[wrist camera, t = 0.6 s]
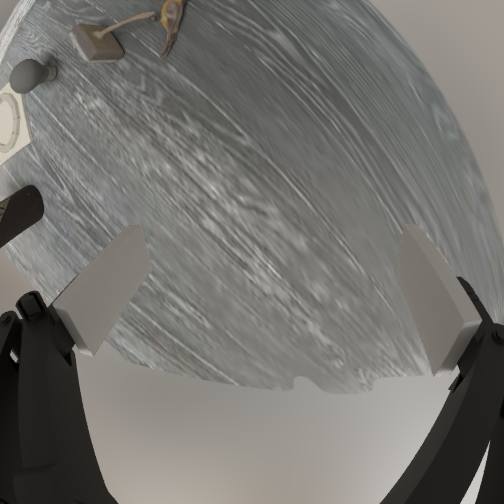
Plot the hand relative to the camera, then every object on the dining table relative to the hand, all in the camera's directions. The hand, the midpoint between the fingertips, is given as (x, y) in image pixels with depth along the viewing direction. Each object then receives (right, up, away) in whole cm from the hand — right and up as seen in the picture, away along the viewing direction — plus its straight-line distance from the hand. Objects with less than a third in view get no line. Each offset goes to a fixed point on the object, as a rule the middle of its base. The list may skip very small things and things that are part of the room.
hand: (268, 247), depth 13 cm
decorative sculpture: (-16, +31, +16) cm, 38 cm away
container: (-47, +10, +33) cm, 59 cm away
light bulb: (-35, +31, +19) cm, 50 cm away
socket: (-52, +27, +23) cm, 63 cm away
